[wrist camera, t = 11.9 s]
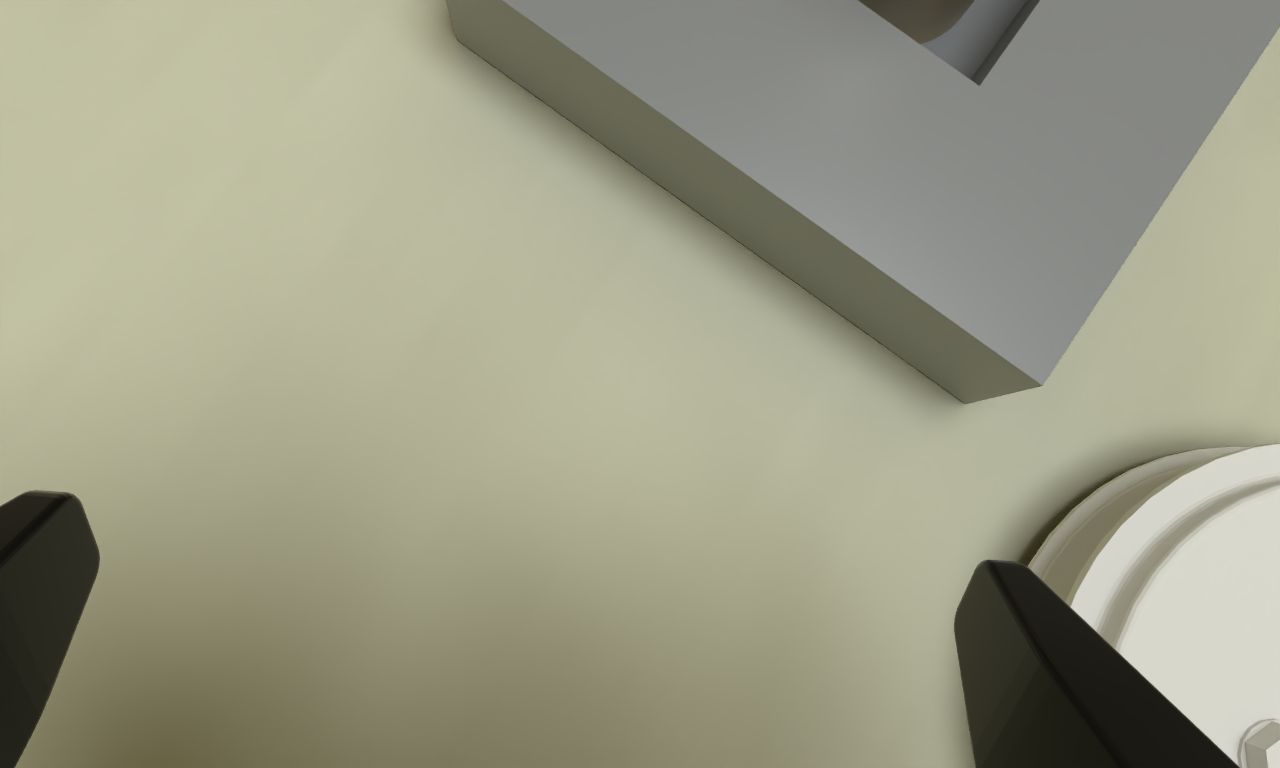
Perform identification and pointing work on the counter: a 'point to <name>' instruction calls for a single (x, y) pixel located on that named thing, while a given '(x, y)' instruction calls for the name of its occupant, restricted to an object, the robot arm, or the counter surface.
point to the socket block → (903, 145)
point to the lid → (1187, 586)
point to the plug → (920, 15)
